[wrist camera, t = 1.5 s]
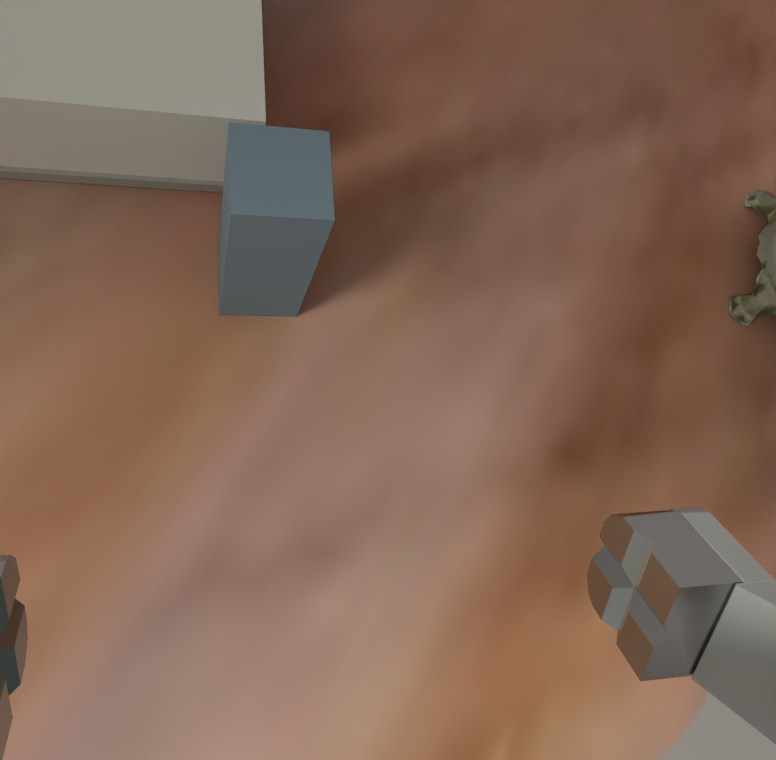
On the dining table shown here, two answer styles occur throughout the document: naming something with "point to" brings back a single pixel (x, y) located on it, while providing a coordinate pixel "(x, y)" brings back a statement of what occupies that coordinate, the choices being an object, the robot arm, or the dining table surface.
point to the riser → (127, 89)
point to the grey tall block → (272, 217)
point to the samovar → (772, 284)
